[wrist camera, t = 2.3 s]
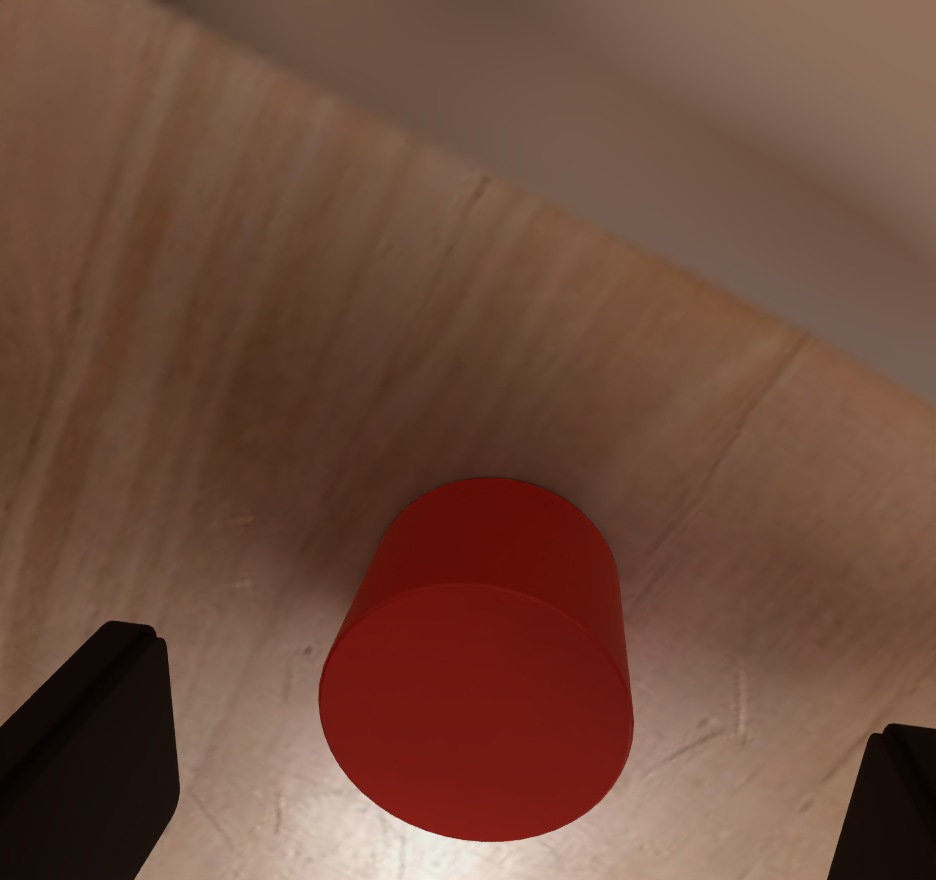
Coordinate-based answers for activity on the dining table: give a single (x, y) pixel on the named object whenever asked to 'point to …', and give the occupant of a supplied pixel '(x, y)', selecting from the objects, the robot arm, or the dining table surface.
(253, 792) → the dining table surface
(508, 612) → the cylinder
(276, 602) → the dining table surface
